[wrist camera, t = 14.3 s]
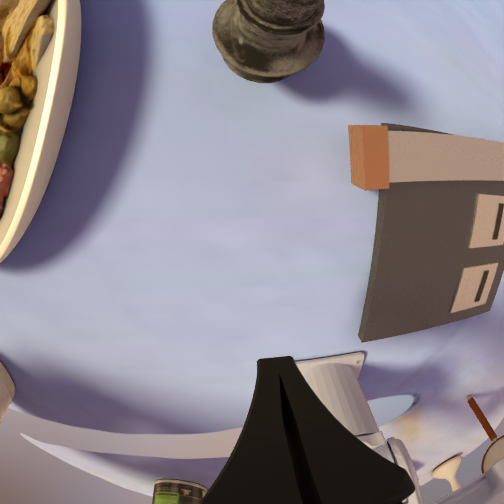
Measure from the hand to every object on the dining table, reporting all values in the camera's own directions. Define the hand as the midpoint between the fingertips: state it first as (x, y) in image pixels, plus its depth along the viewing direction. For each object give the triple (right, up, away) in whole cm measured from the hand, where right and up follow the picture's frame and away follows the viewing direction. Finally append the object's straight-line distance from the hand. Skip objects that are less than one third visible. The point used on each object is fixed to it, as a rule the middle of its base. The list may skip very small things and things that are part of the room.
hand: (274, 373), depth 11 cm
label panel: (+17, +6, +10) cm, 21 cm away
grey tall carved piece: (0, +18, +4) cm, 18 cm away
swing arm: (+14, +12, +5) cm, 19 cm away
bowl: (-26, +18, +2) cm, 32 cm away
